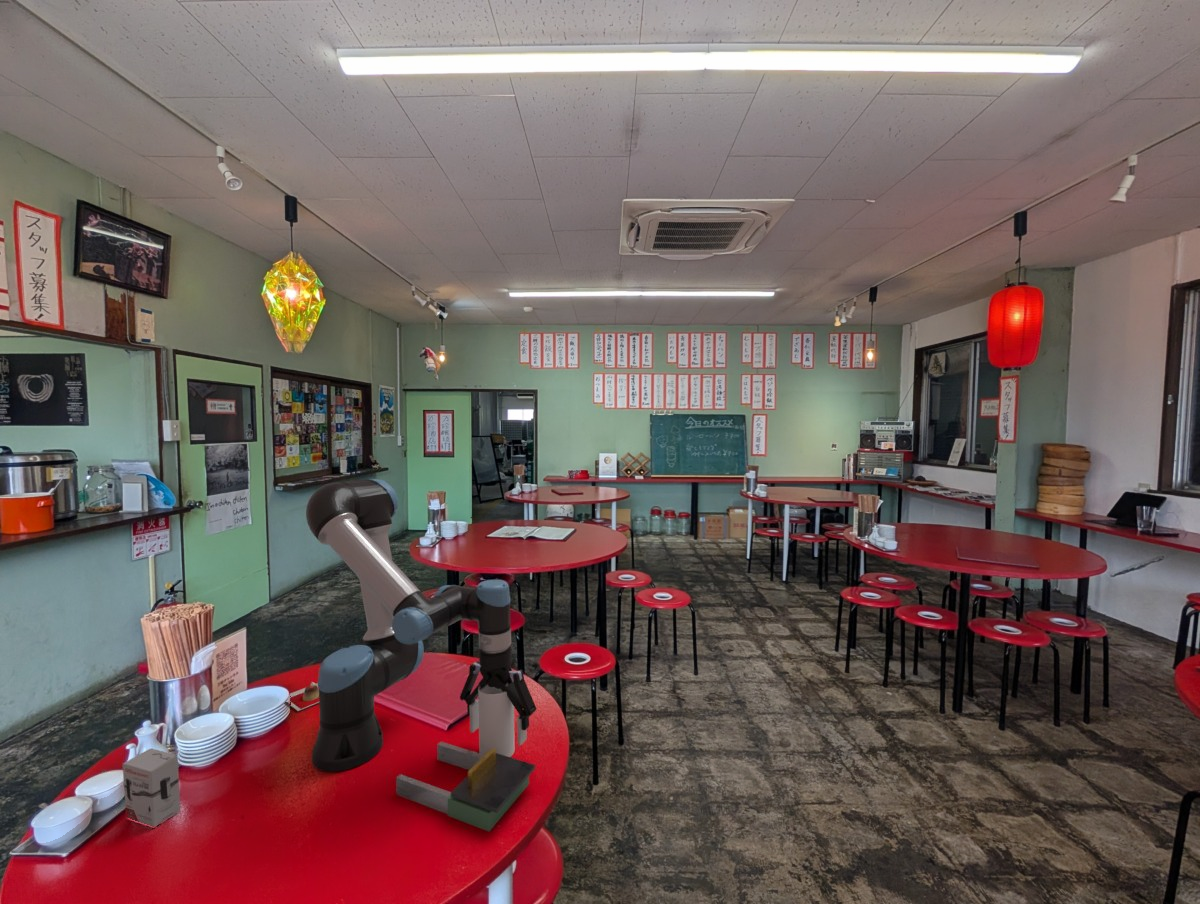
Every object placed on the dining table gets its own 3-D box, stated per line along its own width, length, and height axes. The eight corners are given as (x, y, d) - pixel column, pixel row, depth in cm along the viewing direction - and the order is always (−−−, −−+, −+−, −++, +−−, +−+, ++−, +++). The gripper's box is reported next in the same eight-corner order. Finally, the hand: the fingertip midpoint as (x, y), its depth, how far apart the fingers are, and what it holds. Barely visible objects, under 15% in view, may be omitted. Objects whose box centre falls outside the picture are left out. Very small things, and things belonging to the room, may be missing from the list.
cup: (518, 741, 122) (517, 677, 121) (509, 763, 113) (507, 695, 113) (486, 740, 122) (484, 676, 122) (474, 761, 114) (473, 693, 114)
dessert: (297, 714, 136) (297, 697, 135) (280, 701, 143) (279, 684, 143) (342, 696, 145) (341, 680, 145) (323, 684, 152) (323, 669, 152)
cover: (450, 796, 98) (450, 777, 98) (492, 755, 110) (492, 738, 110) (496, 813, 93) (496, 793, 93) (535, 768, 106) (534, 751, 106)
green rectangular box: (447, 815, 98) (447, 798, 98) (490, 771, 111) (490, 756, 111) (489, 831, 94) (488, 813, 94) (529, 784, 107) (528, 768, 107)
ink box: (123, 820, 98) (121, 762, 97) (153, 802, 103) (150, 747, 102) (153, 830, 95) (150, 770, 95) (181, 811, 100) (179, 754, 100)
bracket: (396, 794, 104) (396, 777, 104) (441, 756, 116) (440, 741, 116) (448, 814, 98) (448, 796, 98) (490, 772, 111) (489, 756, 110)
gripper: (443, 645, 119) (446, 732, 119) (531, 662, 109) (534, 757, 109) (463, 634, 126) (466, 716, 126) (549, 648, 115) (551, 738, 116)
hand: (498, 735), depth 118 cm, fingers open, 13 cm apart
